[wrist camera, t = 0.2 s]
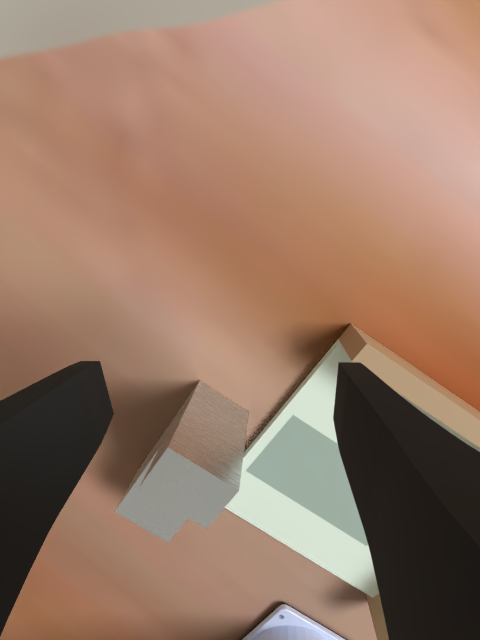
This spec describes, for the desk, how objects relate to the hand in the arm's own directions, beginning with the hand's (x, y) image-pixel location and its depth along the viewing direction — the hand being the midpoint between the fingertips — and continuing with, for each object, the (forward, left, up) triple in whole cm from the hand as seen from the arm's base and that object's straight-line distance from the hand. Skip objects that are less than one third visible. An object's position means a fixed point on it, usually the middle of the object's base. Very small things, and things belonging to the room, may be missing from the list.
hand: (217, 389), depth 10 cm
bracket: (-10, -2, -11) cm, 15 cm away
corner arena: (-6, -13, -11) cm, 18 cm away
